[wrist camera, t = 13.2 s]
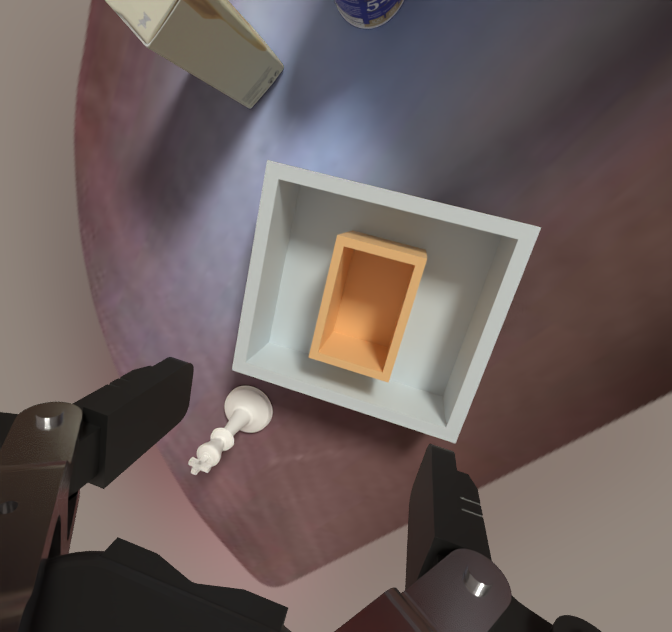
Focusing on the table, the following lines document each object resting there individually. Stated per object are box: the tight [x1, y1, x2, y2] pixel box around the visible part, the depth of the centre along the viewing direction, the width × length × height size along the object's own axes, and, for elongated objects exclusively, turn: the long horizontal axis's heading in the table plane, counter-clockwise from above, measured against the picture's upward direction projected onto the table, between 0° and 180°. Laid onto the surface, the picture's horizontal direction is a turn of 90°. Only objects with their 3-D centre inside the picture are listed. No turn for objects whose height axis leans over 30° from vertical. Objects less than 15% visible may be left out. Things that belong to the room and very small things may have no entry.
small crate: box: [308, 230, 427, 383], centre depth 29 cm, size 6×9×6 cm, turn 166°
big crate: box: [232, 160, 541, 443], centre depth 30 cm, size 18×16×6 cm
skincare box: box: [105, 0, 284, 109], centre depth 24 cm, size 6×4×12 cm
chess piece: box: [188, 386, 273, 475], centre depth 34 cm, size 5×5×10 cm
